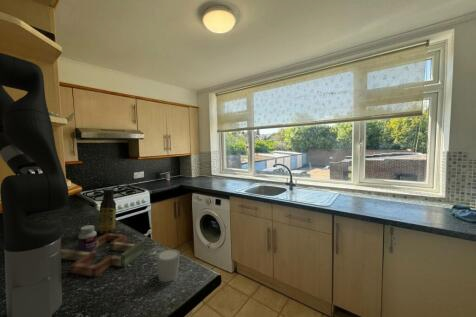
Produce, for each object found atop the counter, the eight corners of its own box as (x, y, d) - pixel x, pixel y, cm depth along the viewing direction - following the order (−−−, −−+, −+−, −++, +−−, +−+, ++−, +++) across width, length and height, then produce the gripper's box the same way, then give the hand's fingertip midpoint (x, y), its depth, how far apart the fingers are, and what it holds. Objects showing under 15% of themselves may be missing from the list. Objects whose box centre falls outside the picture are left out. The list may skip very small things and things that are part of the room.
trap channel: (38, 268, 64) (37, 256, 64) (96, 237, 86) (95, 228, 86) (110, 278, 60) (110, 266, 60) (152, 243, 82) (152, 234, 82)
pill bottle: (87, 257, 71) (86, 231, 70) (74, 255, 72) (74, 229, 71) (100, 250, 76) (100, 225, 76) (88, 248, 77) (88, 223, 77)
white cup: (171, 266, 68) (172, 246, 67) (184, 275, 63) (184, 254, 63) (152, 276, 62) (152, 254, 62) (164, 286, 58) (164, 263, 57)
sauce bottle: (96, 235, 88) (96, 190, 87) (102, 229, 94) (101, 187, 93) (113, 234, 90) (113, 190, 88) (117, 228, 96) (117, 187, 94)
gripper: (2, 153, 67) (34, 192, 66) (45, 151, 80) (72, 184, 79) (-10, 167, 68) (21, 206, 68) (34, 164, 81) (61, 196, 81)
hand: (49, 194), depth 73 cm, fingers closed
